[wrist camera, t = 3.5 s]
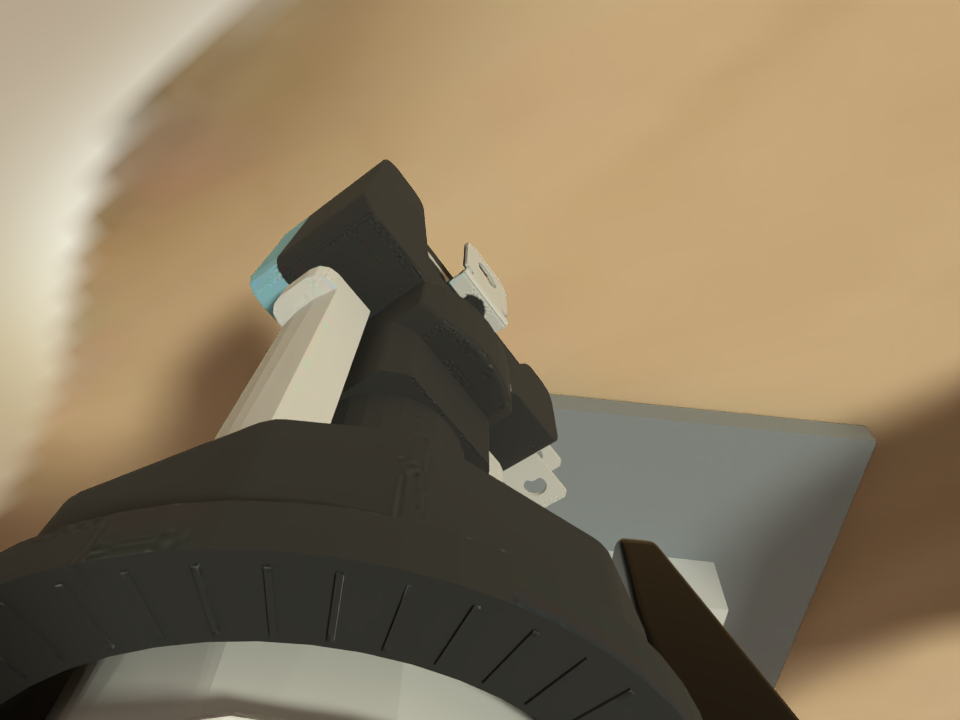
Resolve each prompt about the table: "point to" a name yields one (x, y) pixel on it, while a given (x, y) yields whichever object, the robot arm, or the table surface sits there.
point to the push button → (341, 524)
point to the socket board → (715, 503)
